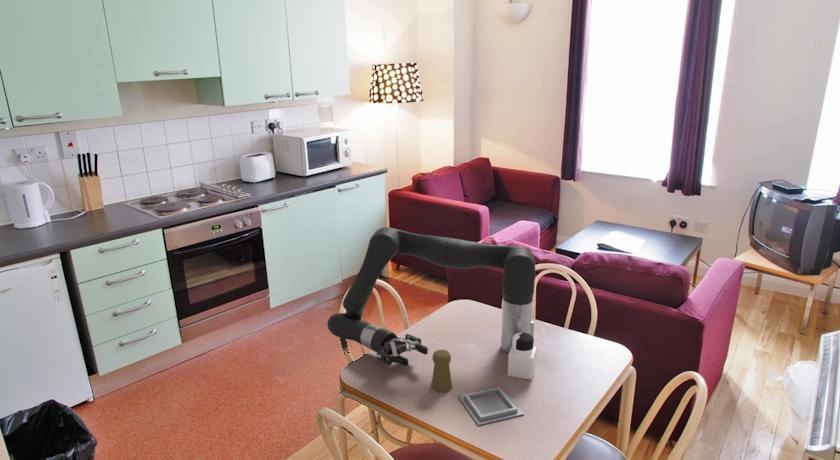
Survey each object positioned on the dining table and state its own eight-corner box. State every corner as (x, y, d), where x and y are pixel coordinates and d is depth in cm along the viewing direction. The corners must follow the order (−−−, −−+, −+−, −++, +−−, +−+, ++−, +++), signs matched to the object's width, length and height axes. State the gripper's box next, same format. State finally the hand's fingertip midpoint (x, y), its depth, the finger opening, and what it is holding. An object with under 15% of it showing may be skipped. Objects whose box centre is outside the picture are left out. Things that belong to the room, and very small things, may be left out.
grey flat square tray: (501, 388, 156) (501, 383, 156) (523, 415, 145) (523, 410, 144) (458, 397, 152) (458, 392, 152) (478, 425, 141) (478, 421, 140)
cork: (450, 393, 154) (450, 358, 151) (429, 391, 155) (429, 356, 152) (453, 381, 160) (453, 347, 156) (433, 379, 161) (432, 345, 158)
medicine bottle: (535, 367, 166) (537, 332, 163) (531, 380, 160) (533, 343, 156) (511, 363, 169) (513, 328, 165) (507, 376, 162) (508, 339, 158)
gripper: (361, 337, 165) (400, 355, 155) (394, 320, 176) (433, 336, 165) (362, 359, 168) (401, 378, 157) (394, 341, 178) (433, 358, 168)
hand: (417, 357), depth 161 cm, fingers open, 8 cm apart
